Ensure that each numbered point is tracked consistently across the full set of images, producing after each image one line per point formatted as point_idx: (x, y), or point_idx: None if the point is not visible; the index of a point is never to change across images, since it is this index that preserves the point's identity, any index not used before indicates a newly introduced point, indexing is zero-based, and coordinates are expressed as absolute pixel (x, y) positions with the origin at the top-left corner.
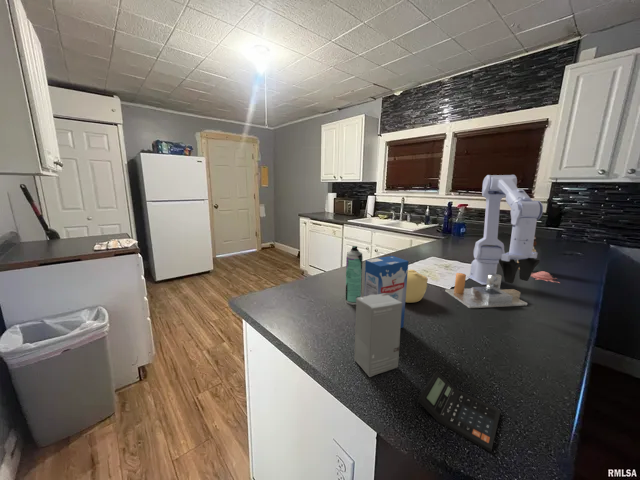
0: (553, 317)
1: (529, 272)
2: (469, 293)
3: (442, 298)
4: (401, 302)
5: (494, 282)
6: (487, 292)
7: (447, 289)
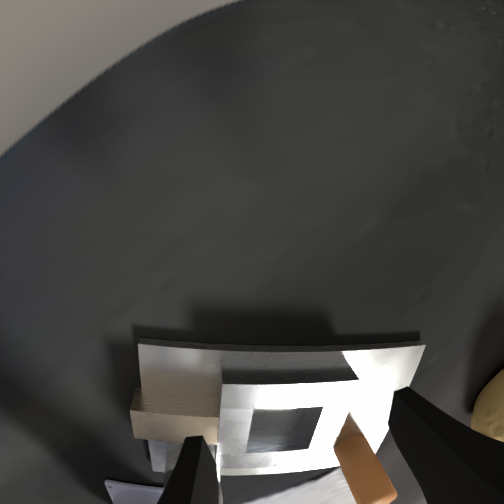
0: (123, 206)
1: (193, 500)
2: None
3: None
4: None
5: None
6: (267, 438)
7: None
